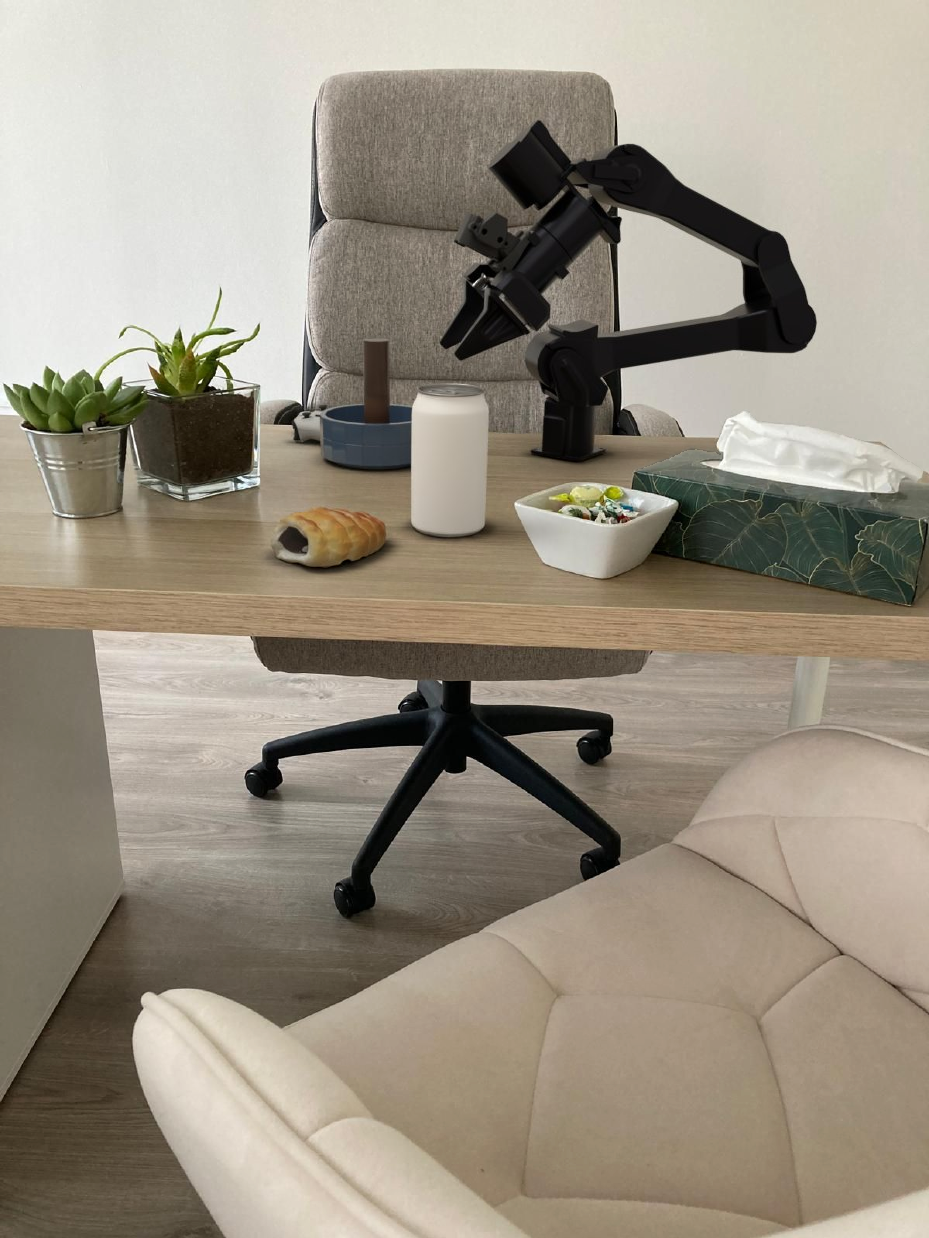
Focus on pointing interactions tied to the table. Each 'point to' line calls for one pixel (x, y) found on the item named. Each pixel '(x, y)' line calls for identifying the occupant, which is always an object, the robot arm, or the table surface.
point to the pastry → (327, 536)
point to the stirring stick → (376, 381)
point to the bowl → (366, 438)
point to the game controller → (308, 424)
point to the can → (449, 460)
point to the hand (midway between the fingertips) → (449, 351)
